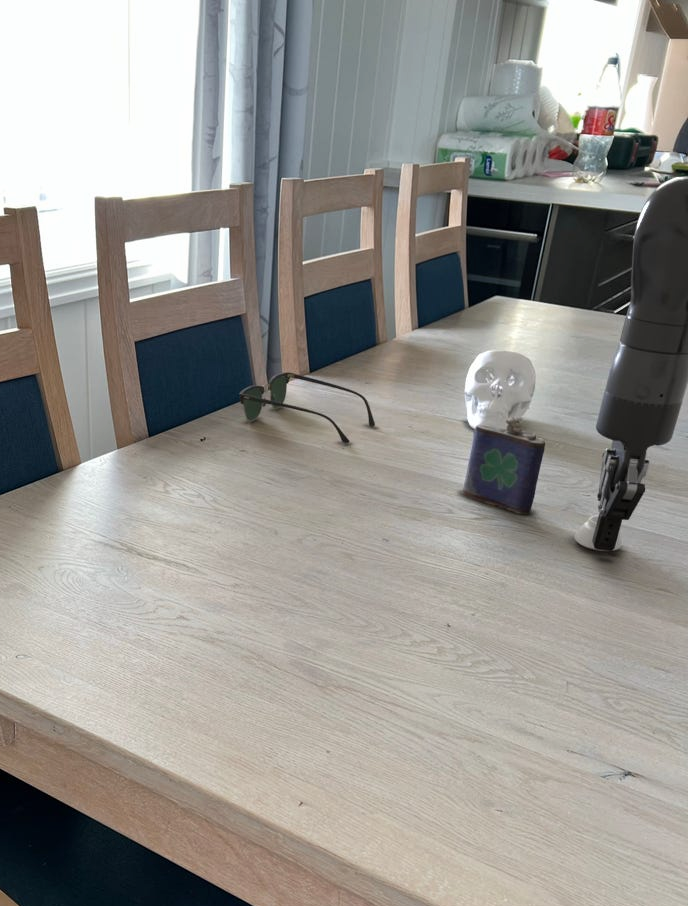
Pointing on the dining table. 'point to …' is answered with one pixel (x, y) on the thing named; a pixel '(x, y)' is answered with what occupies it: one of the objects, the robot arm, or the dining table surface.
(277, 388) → the sunglasses
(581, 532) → the small white bowl
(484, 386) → the skull bowl
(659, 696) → the dining table surface
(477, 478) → the flask
